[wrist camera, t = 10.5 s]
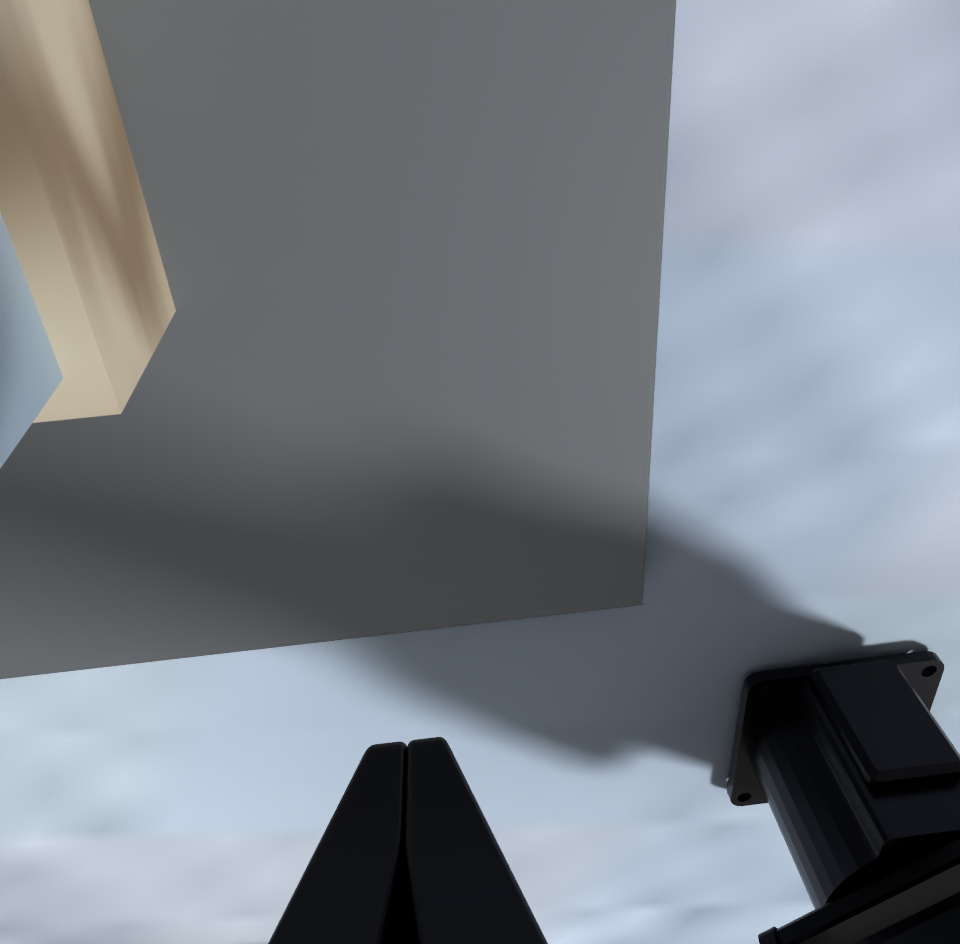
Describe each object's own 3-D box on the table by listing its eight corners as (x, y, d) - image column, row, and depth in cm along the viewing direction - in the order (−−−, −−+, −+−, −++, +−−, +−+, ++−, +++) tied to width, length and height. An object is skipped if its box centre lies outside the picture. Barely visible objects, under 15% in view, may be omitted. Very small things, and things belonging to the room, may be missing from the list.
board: (633, 581, 25) (642, 604, 24) (9, 652, 24) (-4, 679, 23) (670, -197, 15) (687, -204, 14) (-395, -120, 14) (-445, -122, 13)
